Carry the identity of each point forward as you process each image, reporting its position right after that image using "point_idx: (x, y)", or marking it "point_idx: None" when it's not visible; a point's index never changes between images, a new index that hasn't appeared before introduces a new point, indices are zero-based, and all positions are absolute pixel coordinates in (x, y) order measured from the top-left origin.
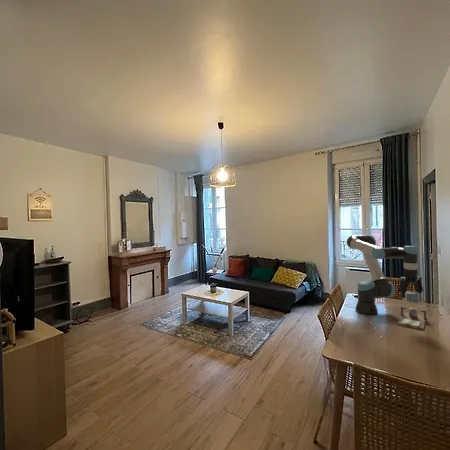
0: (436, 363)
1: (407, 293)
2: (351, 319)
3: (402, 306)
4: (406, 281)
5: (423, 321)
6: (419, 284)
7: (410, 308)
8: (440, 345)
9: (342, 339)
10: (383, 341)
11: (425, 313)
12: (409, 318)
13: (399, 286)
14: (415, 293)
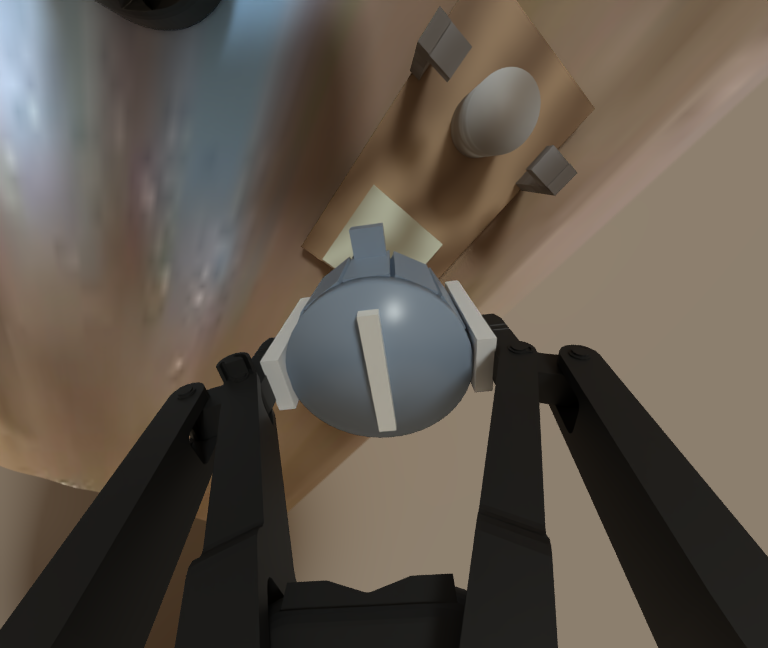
0: (291, 488)
1: (321, 382)
2: (9, 140)
3: (445, 23)
4: (249, 612)
5: (480, 221)
6: (611, 516)
7: (487, 98)
8: None
9: (18, 388)
10: None
11: (543, 192)
12: (426, 162)
13: (123, 468)
14: (432, 390)
